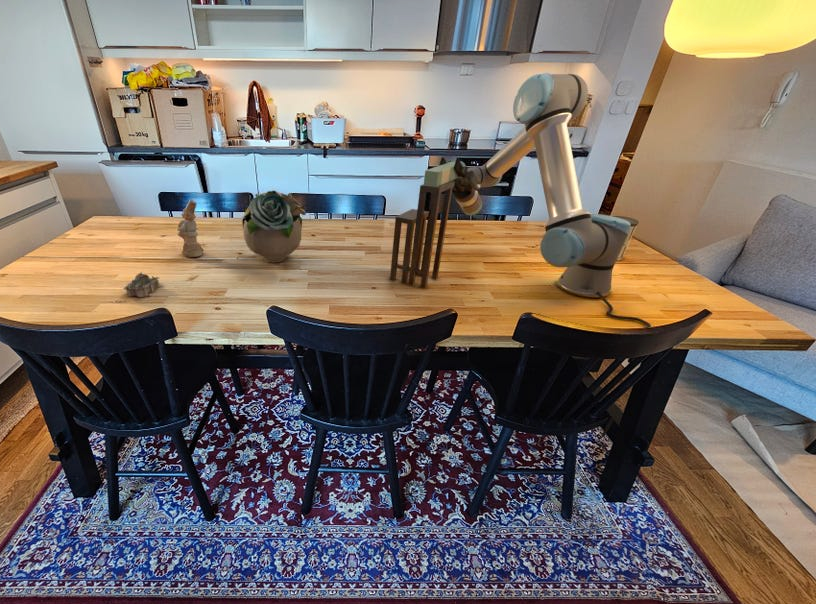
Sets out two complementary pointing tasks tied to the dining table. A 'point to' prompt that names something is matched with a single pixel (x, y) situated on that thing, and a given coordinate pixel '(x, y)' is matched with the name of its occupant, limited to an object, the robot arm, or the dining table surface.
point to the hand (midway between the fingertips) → (448, 162)
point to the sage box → (440, 175)
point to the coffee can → (630, 234)
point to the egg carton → (142, 285)
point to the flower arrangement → (273, 225)
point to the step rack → (421, 235)
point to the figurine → (189, 231)
